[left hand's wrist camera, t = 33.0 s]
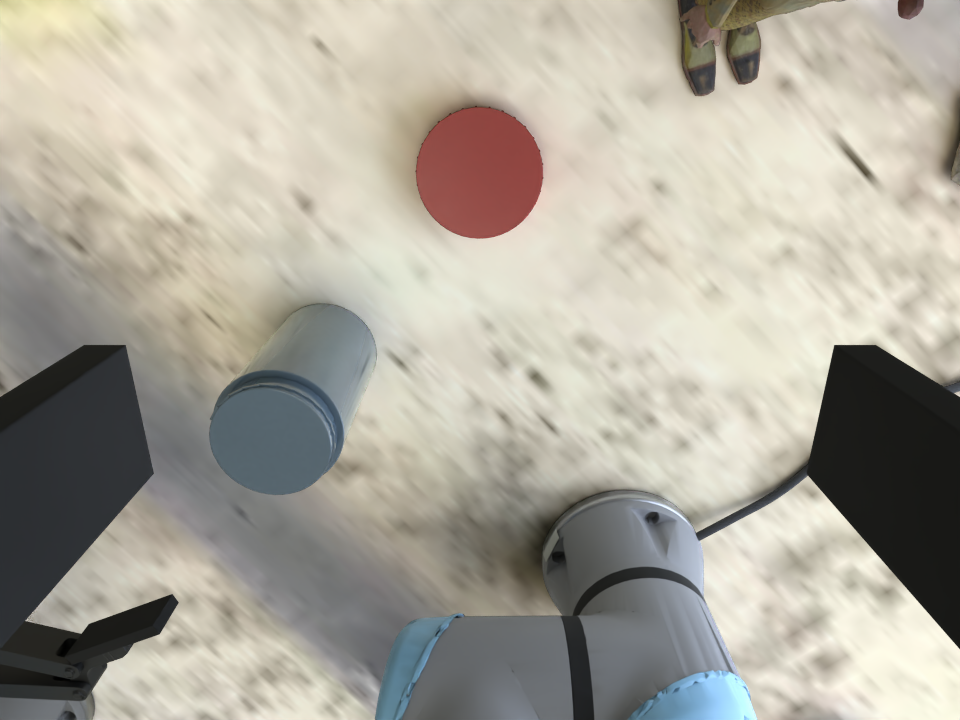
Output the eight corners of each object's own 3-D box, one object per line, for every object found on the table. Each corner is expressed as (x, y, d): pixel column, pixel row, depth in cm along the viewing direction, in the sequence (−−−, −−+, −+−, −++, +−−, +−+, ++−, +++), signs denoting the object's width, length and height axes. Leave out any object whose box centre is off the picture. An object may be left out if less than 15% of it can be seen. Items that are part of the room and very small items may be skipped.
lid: (397, 135, 49) (394, 136, 47) (517, 85, 48) (518, 85, 46) (445, 251, 52) (444, 257, 50) (557, 208, 51) (561, 212, 49)
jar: (394, 336, 55) (363, 425, 40) (347, 413, 58) (301, 522, 43) (304, 284, 53) (236, 356, 38) (259, 365, 56) (180, 461, 41)
